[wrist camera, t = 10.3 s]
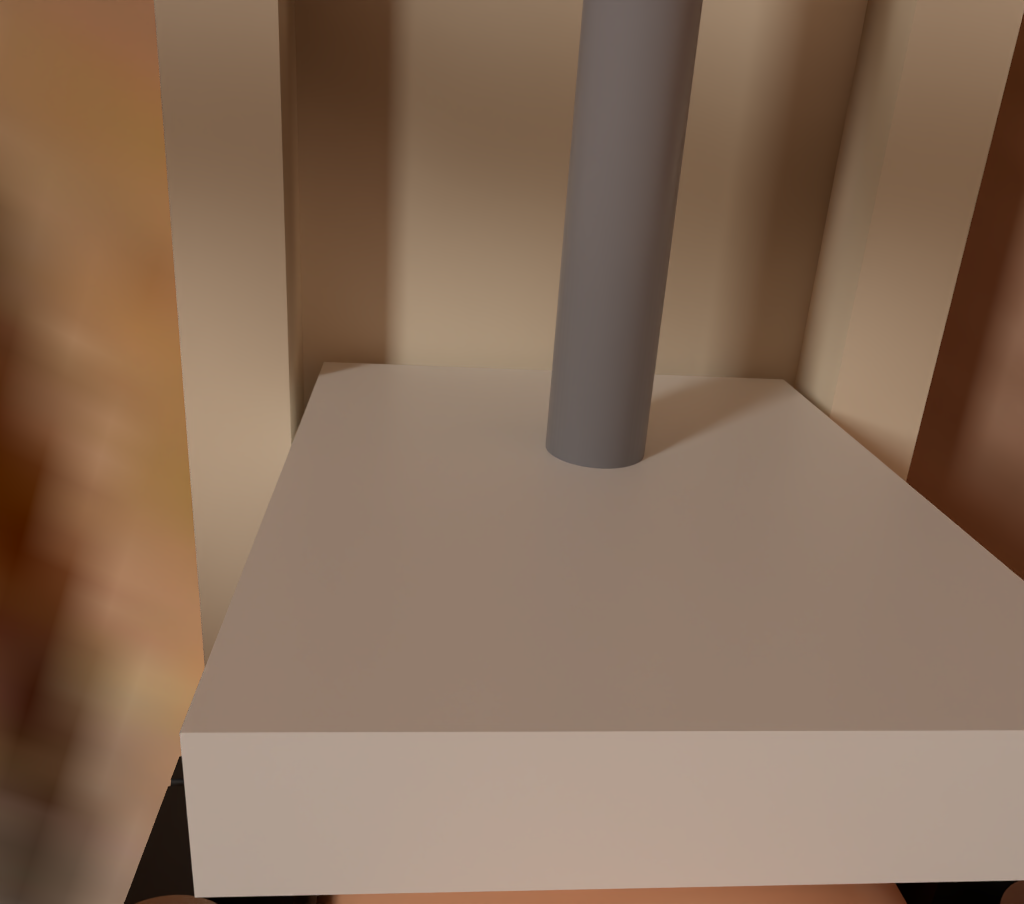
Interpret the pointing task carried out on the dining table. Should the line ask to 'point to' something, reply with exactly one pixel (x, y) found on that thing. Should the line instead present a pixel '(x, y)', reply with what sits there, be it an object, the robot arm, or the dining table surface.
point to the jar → (648, 896)
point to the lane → (553, 208)
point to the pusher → (603, 605)
